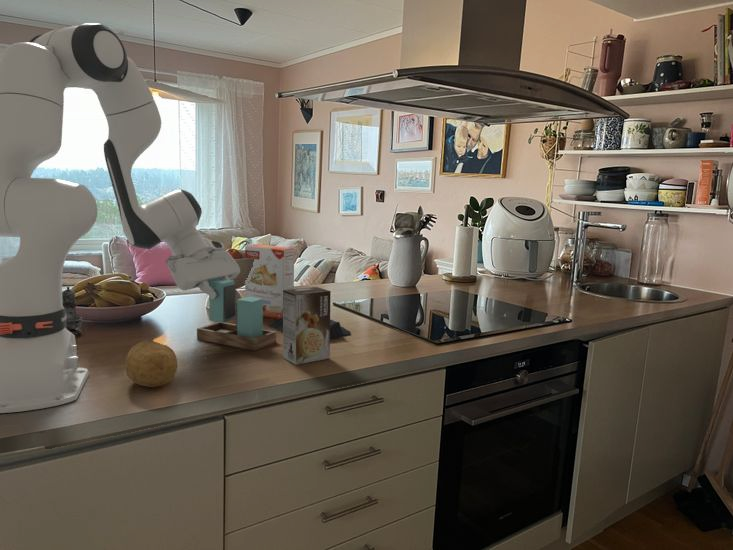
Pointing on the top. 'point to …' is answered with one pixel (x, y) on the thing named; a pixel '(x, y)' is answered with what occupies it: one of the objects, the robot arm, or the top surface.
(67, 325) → the figurine
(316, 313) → the grey cardboard box
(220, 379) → the top surface
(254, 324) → the turquoise rectangular block
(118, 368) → the top surface
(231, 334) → the wooden compartment tray
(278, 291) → the cracker box
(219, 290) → the tall teal pillar
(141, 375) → the potato
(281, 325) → the dark slate chunk
